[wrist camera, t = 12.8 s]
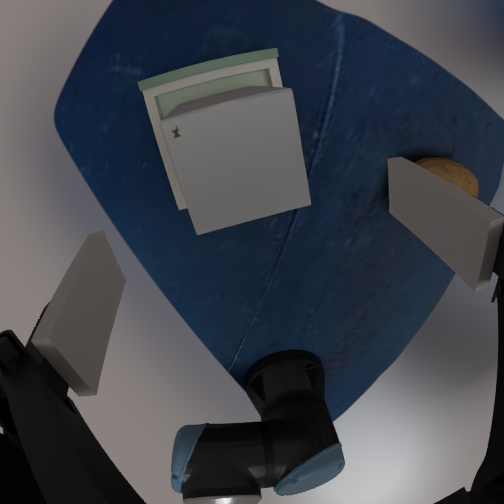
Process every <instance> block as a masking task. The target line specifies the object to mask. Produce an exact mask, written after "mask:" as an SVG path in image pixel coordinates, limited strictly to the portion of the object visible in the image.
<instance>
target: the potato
mask: <svg viewBox="0 0 504 504" xmlns="http://www.w3.org/2000/svg"><path fill="white" fill-rule="evenodd" d="M415 164H417V165H419V166H421V167H423V168H424V169H426V170H428V171H430V172H432V173H434V174H436V175H437V176H439V177H441V178H443V179H445V180H446V181H448V182H450V183H452V184H453V185H455V186H457V187H459V188H460V189H462V190H464V191H465V192H467V193H469V194H470V195H473V196H475V197H476V198H477V197H478V180H477V179H476V178H475V176H474V175H473V174H472V173H471V172H470V170H469V169H468V168H467V167H466V166H464V165H462V164H459V163H457V162H455V161H453V160H451V159H446V158H433V157H432V158H422V159H420V160H418V161H417V162H415Z"/></svg>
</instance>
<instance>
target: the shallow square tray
mask: <svg viewBox="0 0 504 504" xmlns="http://www.w3.org/2000/svg"><path fill="white" fill-rule="evenodd" d="M277 57H279V55H278V51H277V48H273V49H266V50H260V51H254V52H249V53H244V54H238V55H234V56H229V57H224V58H220V59H215V60H211V61H207V62H203V63H199V64H195V65H191V66H188V67H184V68H181V69H177V70H174V71H170V72H167V73H164V74H161V75H158V76H154V77H151V78H148V79H145V80H142V81H140V82H138V86H139V89H140V91H142V92H143V95H144V99H145V102H146V106H147V109H148V113H149V116H150V120H151V123H152V126H153V130H154V133H155V137H156V140H157V143H158V146H159V150H160V153H161V156H162V159H163V162H164V166H165V169H166V172H167V175H168V178H169V181H170V184H171V187H172V190H173V194H174V197H175V200H176V203H177V206H178V209H179V210H181V209H185V208H187V206H186V203H185V200H184V197H183V194H182V191H181V189H180V186H179V183H178V180H177V177H176V174H175V171H174V168H173V165H172V162H171V159H170V156H169V153H168V150H167V147H166V144H165V141H164V138H163V134H162V131H161V128H160V121H161V120H162V119H164V117H165V116H167V115H168V114H169V113H170V112H171V111H172V110H173V109H174V108H175V107H176V106H177V105H179V104H182V103H185V102H189V101H192V100H196V99H199V98H203V97H207V96H210V95H214V94H218V93H222V92H226V91H230V90H234V89H239V88H243V87H248V86H270V87H283V86H282V82H281V77H280V72H279V68H278V63H277Z"/></svg>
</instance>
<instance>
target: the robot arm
mask: <svg viewBox="0 0 504 504" xmlns="http://www.w3.org/2000/svg"><path fill="white" fill-rule="evenodd" d="M388 178H389V213H391V214H392V215H393V216H394V217H395V218H396V219H398V220H399V221H400V222H401V223H402V224H403V225H405V226H406V227H407V228H408V229H409V230H410V231H411V232H413V233H414V234H415V235H416V236H417V237H418V238H419V239H420V240H422V241H423V242H424V243H425V244H426V245H427V246H428V247H429V248H430V249H431V250H432V251H433V252H435V253H436V254H437V255H438V256H439V257H440V258H441V259H442V260H443V261H444V262H445V263H446V264H447V265H448V266H449V267H450V268H451V269H452V270H453V271H454V272H455V273H456V274H457V275H458V276H459V277H460V278H461V279H462V280H463V281H464V282H465V283H466V284H467V285H468V286H469V287H470V288H471V289H472V290H473V291H474V292H477V291H479V290H481V289H483V288H485V287H487V286H489V283H490V280H491V276H492V272H494V273H495V274H497V275H498V276H499V277H498V281H497V284H496V287H495V291H494V294H493V297H492V301H491V302H494V301H495V298H496V297H497V303H498V368H497V369H498V370H497V383H496V395H495V403H494V412H493V419H492V425H491V431H490V437H489V442H488V448H487V452H486V456H485V458H484V461H483V462H482V464H481V466H480V468H479V470H478V471H477V474H476V476H475V478H474V481H473V484H472V487H471V491H469V492H466V490H465V487H463V488H461V489H459V490H458V491H456V492H454V493H452V494H451V495H449V496H447V497H445V498H444V499H442V500H440V501H438V502H436V503H434V504H504V215H503V214H501V213H500V212H498V211H497V210H495V209H494V208H492V207H490V206H489V205H488V204H486V203H483V201H481V200H480V199H478V198H476V197H475V196H473V195H470V194H469V193H467V192H465V191H464V190H462V189H460V188H459V187H457V186H455V185H453V184H452V183H450V182H448V181H446V180H445V179H443V178H441V177H439V176H437V175H436V174H434V173H432V172H430V171H428V170H426V169H424V168H423V167H421V166H419V165H417V164H415V163H413V162H411V161H409V160H407V159H405V158H403V157H395V158H390V159H388ZM125 283H126V279H125V277H124V275H123V273H122V271H121V269H120V267H119V264H118V263H117V260H116V258H115V256H114V254H113V252H112V250H111V248H110V245H109V243H108V241H107V239H106V237H105V234H104V232H103V231H100V232H97V233H94V234H91V235H89V236H88V237H87V239H86V240H85V242H84V244H83V245H82V247H81V248H80V250H79V252H78V253H77V255H76V257H75V258H74V260H73V262H72V263H71V265H70V267H69V268H68V270H67V272H66V274H65V276H64V277H63V279H62V281H61V283H60V284H59V286H58V288H57V290H56V292H55V294H54V295H53V297H52V299H51V301H50V302H49V303H48V304H47V305H46V307H45V308H44V309H43V311H42V313H41V316H40V319H38V321H37V323H36V327H34V329H33V332H32V334H31V336H30V338H29V340H28V342H27V344H26V346H25V347H24V346H23V344H22V343H21V342H20V340H19V339H18V338H17V336H16V335H15V334H14V332H13V331H12V330H6V331H3V332H1V333H0V426H1V427H2V428H3V434H1V433H0V504H146V503H145V502H144V500H143V499H142V498H141V497H140V496H139V495H138V494H137V492H136V491H135V490H134V489H133V487H132V486H131V485H130V484H129V483H128V481H127V480H126V479H125V478H124V476H123V475H122V474H121V472H119V470H118V469H117V467H116V466H115V465H114V463H113V462H112V461H111V459H110V458H109V457H108V455H107V454H106V452H105V451H104V449H103V448H102V447H101V445H100V444H99V442H98V441H97V440H96V438H95V436H94V435H93V433H92V432H91V430H90V429H89V427H88V426H87V424H86V422H85V421H84V419H83V418H82V416H81V414H80V413H79V411H78V410H77V408H76V406H75V404H74V403H73V401H72V400H71V399H70V398H69V397H68V396H67V392H68V388H69V387H70V388H71V389H72V390H73V391H74V392H75V393H76V394H77V395H78V396H91V395H96V394H97V390H98V385H99V380H100V376H101V371H102V367H103V363H104V358H105V354H106V350H107V346H108V342H109V338H110V335H111V331H112V327H113V323H114V320H115V316H116V313H117V309H118V305H119V302H120V299H121V296H122V292H123V289H124V286H125ZM245 387H246V392H247V395H248V397H249V398H250V400H251V402H252V403H253V405H254V406H255V408H256V409H257V411H258V413H259V414H260V416H261V422H246V423H229V424H209V423H205V424H200V425H186V426H183V427H181V428H180V429H179V431H178V432H177V434H176V437H175V441H174V447H173V453H172V464H171V472H172V478H171V484H172V488H173V490H174V491H175V492H178V493H182V494H183V503H185V504H257V503H258V502H259V501H260V500H261V499H262V496H261V490H260V489H261V488H269V487H274V491H275V492H276V493H277V494H278V495H281V496H284V495H294V494H298V493H301V492H305V491H308V490H310V489H313V488H315V487H318V486H320V485H322V484H324V483H326V482H328V481H330V480H331V479H333V478H334V477H336V476H337V475H338V474H339V473H340V472H341V471H342V470H343V468H344V465H345V460H344V456H343V452H342V448H341V447H342V445H341V443H340V442H339V439H338V436H337V433H336V430H335V428H334V425H333V422H332V419H331V416H330V414H329V411H328V408H327V405H326V402H325V399H324V392H325V372H324V368H323V366H322V363H321V361H320V359H319V358H318V357H317V356H316V355H314V354H312V353H309V352H306V351H298V350H292V351H284V352H279V353H275V354H272V355H270V356H267V357H265V358H263V359H261V360H260V361H258V362H257V363H255V364H254V365H253V366H252V367H251V368H250V369H249V370H248V372H247V374H246V376H245Z"/></svg>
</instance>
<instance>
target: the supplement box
mask: <svg viewBox="0 0 504 504" xmlns="http://www.w3.org/2000/svg"><path fill="white" fill-rule="evenodd" d="M160 128H161V131H162V134H163V138H164V141H165V144H166V147H167V150H168V153H169V156H170V159H171V162H172V165H173V168H174V171H175V174H176V177H177V180H178V183H179V186H180V189H181V191H182V194H183V197H184V200H185V203H186V206H187V208H188V211H189V214H190V217H191V220H192V222H193V225H194V228H195V231H196V234H197V235H200V234H204V233H207V232H211V231H214V230H218V229H222V228H225V227H229V226H233V225H236V224H240V223H244V222H247V221H251V220H255V219H259V218H262V217H266V216H270V215H274V214H278V213H281V212H285V211H289V210H292V209H296V208H300V207H304V206H308V205H311V200H310V194H309V187H308V181H307V175H306V170H305V164H304V158H303V152H302V146H301V139H300V132H299V126H298V120H297V114H296V108H295V103H294V97H293V92H292V89H290V88H284V87H270V86H248V87H243V88H239V89H234V90H230V91H226V92H222V93H218V94H214V95H210V96H207V97H203V98H199V99H196V100H192V101H189V102H185V103H182V104H179V105H177V106H176V107H175V108H174V109H173V110H172V111H171V112H170V113H169V114H168V115H167V116H165V117H164V119H162V120H161V121H160Z"/></svg>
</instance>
